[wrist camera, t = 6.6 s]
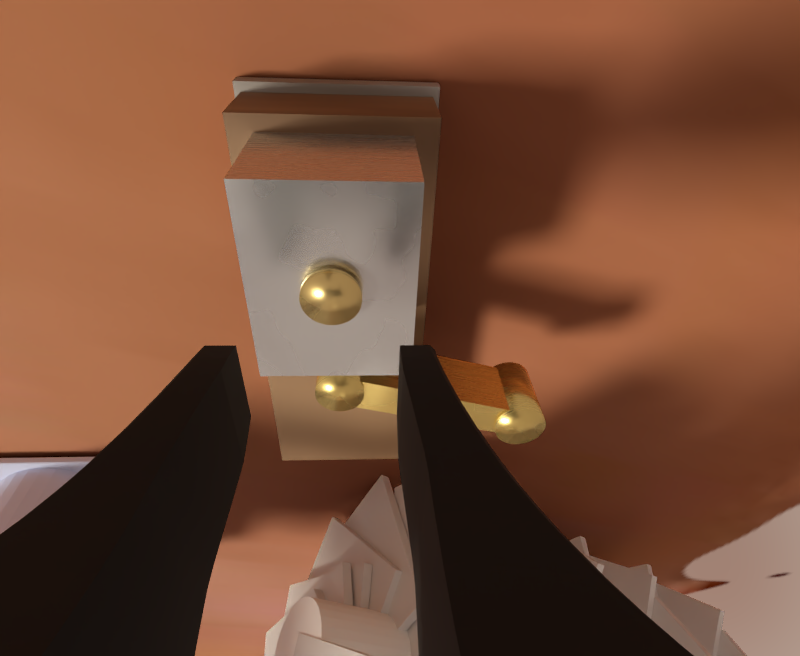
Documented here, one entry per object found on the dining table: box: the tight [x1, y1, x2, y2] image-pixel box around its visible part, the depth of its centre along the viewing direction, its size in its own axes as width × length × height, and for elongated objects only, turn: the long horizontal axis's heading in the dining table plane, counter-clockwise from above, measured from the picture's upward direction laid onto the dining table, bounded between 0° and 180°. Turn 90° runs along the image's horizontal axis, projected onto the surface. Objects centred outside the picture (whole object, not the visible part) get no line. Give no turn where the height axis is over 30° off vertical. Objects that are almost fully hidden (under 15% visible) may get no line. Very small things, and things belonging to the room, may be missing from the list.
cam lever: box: [315, 355, 546, 444], centre depth 18 cm, size 8×2×2 cm, turn 73°
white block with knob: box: [224, 132, 424, 376], centre depth 14 cm, size 6×4×4 cm
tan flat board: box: [222, 77, 442, 461], centre depth 19 cm, size 16×6×3 cm, turn 178°
